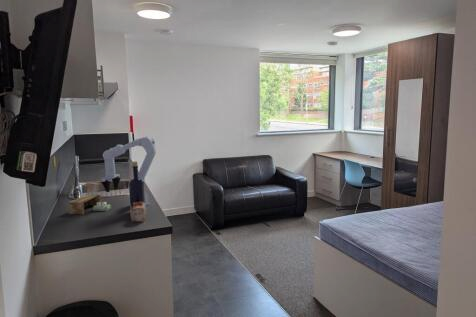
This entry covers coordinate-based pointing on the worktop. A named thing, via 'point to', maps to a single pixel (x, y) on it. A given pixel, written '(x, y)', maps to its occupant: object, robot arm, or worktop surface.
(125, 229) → the worktop surface
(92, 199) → the wooden arch bridge
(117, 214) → the worktop surface
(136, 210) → the food item
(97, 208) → the tray
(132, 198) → the bottle
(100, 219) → the worktop surface
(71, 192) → the worktop surface
